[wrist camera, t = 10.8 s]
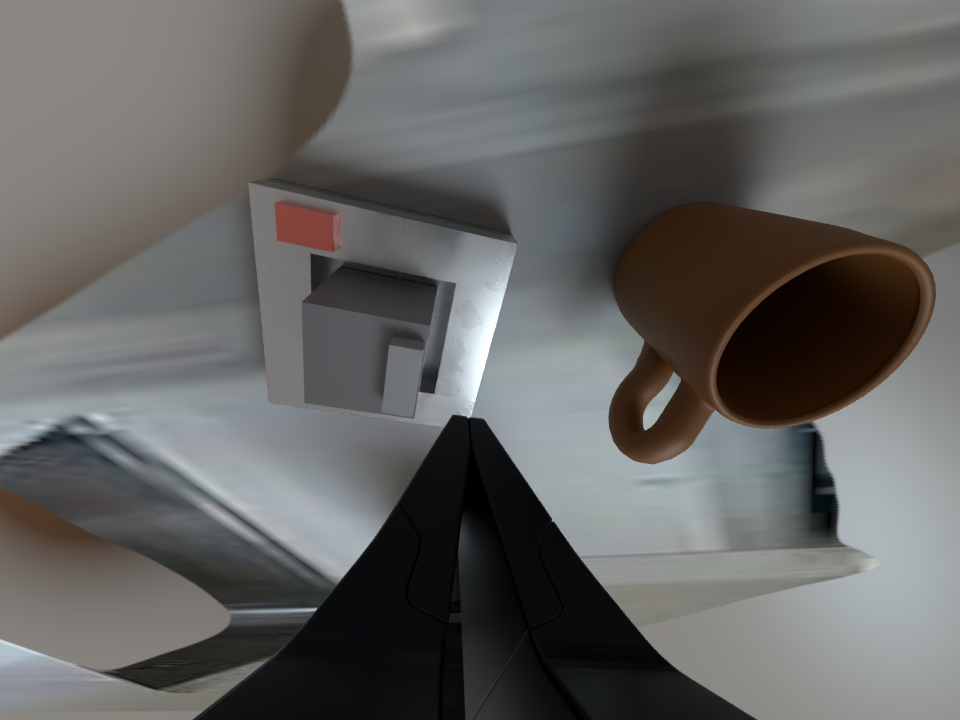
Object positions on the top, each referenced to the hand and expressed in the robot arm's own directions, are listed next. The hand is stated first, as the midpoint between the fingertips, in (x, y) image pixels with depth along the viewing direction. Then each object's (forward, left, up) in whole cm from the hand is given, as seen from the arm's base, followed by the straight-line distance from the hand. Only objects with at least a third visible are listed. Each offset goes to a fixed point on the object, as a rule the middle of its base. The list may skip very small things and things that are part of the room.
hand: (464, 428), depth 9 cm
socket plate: (-3, +4, -12) cm, 13 cm away
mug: (+1, -11, -13) cm, 17 cm away
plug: (-3, +4, -12) cm, 13 cm away
